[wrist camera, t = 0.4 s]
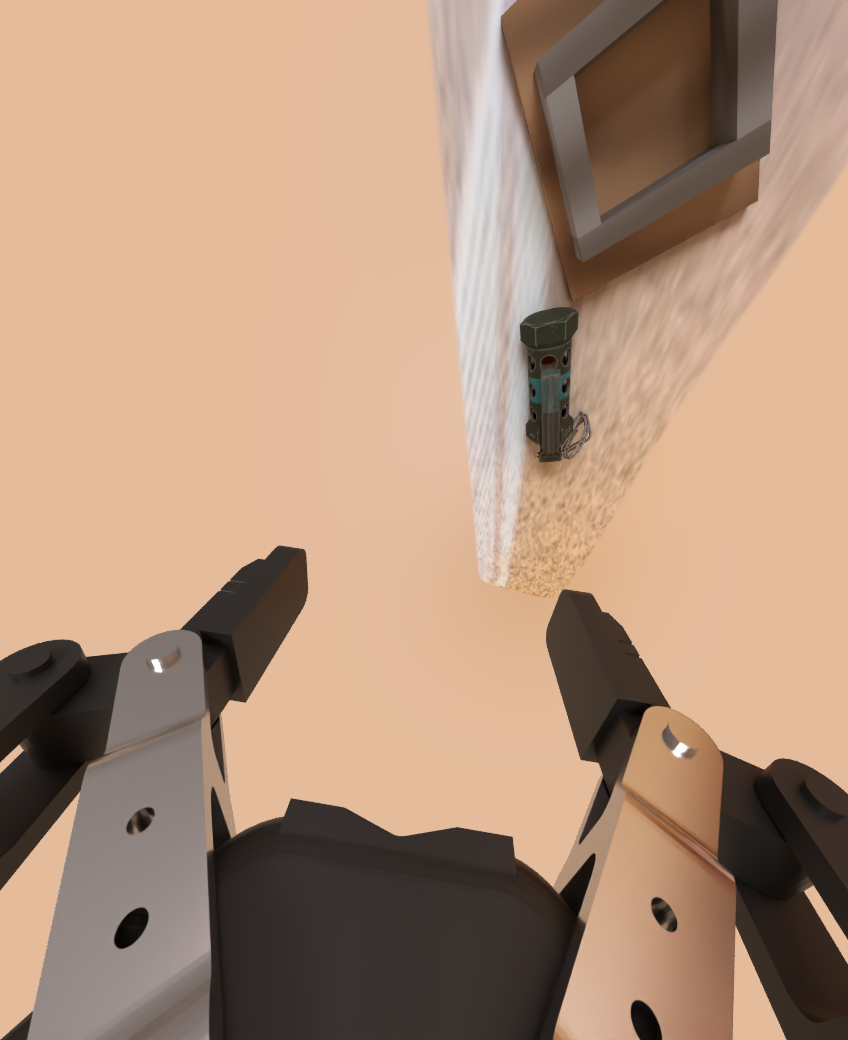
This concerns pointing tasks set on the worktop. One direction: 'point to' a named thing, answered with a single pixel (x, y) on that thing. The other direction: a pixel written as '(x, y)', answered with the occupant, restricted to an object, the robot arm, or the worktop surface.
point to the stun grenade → (551, 382)
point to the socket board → (642, 120)
